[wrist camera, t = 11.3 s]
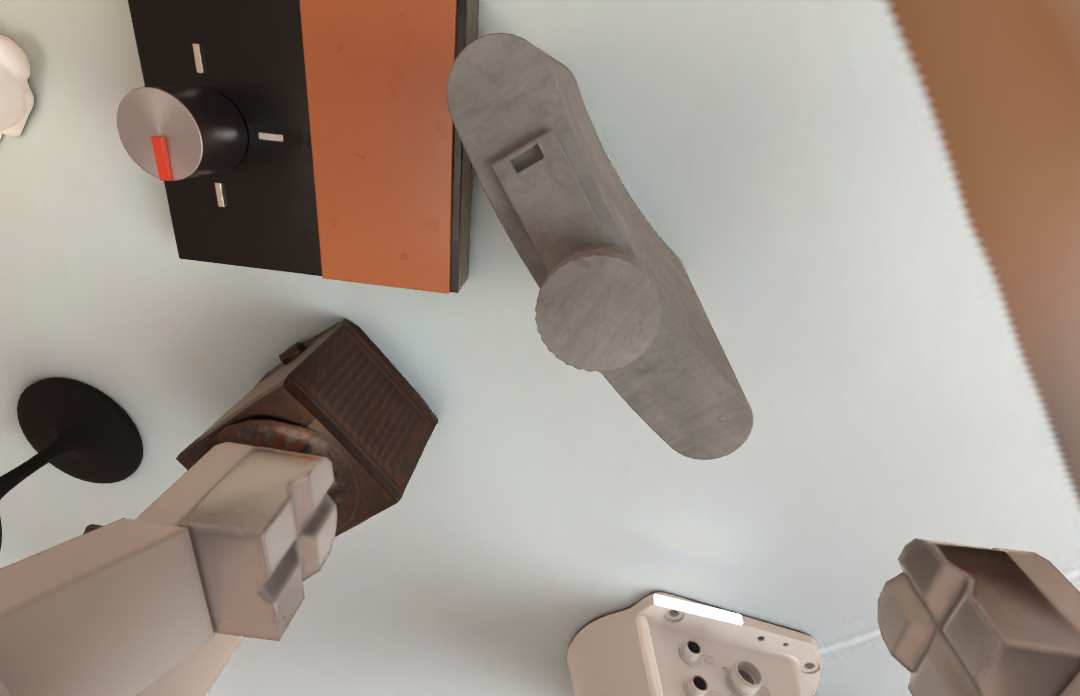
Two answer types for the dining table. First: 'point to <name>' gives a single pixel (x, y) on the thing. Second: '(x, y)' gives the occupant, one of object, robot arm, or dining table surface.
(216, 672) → the milk bottle
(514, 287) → the dining table surface
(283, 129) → the plate
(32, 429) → the wine glass
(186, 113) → the hob knob
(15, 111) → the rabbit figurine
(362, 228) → the heating pad
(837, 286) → the dining table surface
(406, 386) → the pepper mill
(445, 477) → the dining table surface
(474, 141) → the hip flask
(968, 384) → the dining table surface
